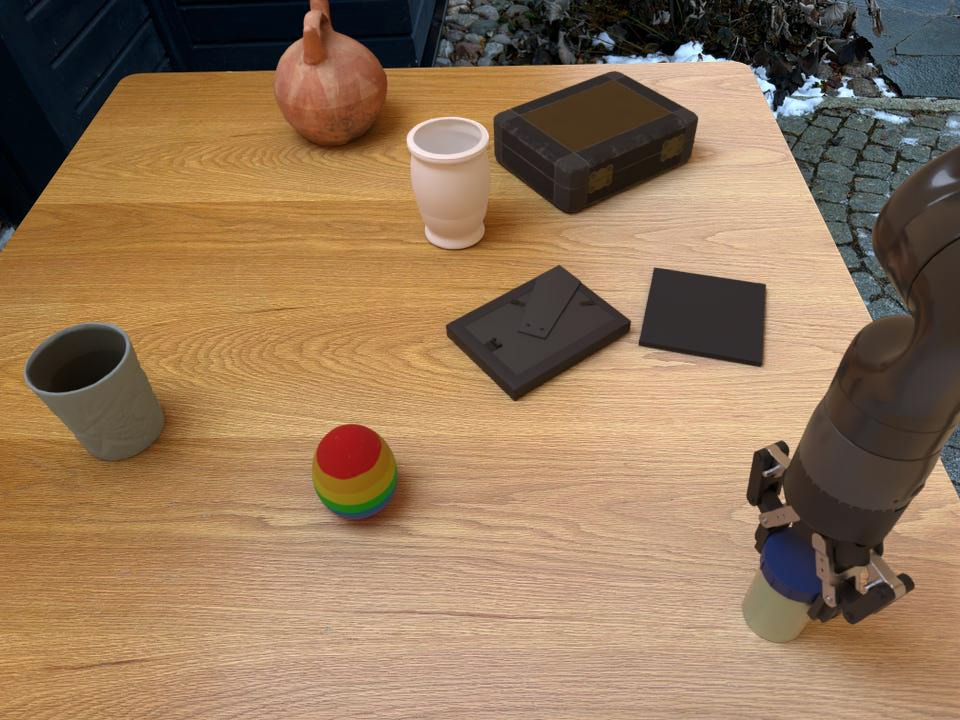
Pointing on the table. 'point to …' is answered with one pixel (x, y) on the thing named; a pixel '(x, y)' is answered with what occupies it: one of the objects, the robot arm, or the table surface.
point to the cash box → (593, 139)
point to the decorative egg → (354, 471)
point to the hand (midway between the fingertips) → (792, 579)
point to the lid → (790, 566)
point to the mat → (705, 316)
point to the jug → (329, 83)
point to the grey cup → (97, 389)
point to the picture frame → (537, 331)
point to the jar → (450, 179)
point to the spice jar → (773, 612)
